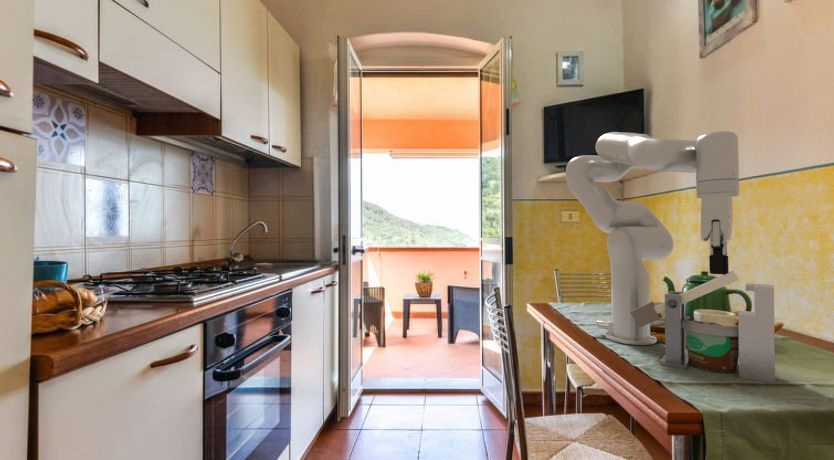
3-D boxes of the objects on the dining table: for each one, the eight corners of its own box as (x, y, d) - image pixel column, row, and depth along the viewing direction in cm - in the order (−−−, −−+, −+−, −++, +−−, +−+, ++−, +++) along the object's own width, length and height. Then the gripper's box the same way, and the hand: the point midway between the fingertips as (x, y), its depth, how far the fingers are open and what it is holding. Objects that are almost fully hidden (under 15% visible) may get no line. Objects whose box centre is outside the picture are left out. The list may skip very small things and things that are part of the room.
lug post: (739, 376, 84) (738, 285, 84) (740, 370, 88) (739, 283, 88) (774, 383, 81) (773, 287, 81) (774, 376, 85) (773, 285, 85)
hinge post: (659, 364, 92) (659, 294, 93) (666, 356, 99) (665, 290, 99) (685, 369, 89) (685, 296, 89) (691, 360, 95) (690, 292, 95)
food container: (669, 360, 95) (668, 317, 95) (687, 357, 97) (687, 315, 97) (725, 377, 83) (724, 329, 83) (744, 373, 86) (744, 326, 86)
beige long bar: (639, 327, 97) (629, 312, 99) (643, 325, 100) (633, 310, 101) (741, 284, 85) (728, 267, 86) (742, 282, 87) (729, 266, 89)
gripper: (700, 193, 97) (702, 270, 97) (691, 188, 86) (693, 275, 85) (740, 191, 92) (742, 272, 92) (737, 185, 81) (739, 277, 80)
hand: (719, 273), depth 88 cm, fingers closed
